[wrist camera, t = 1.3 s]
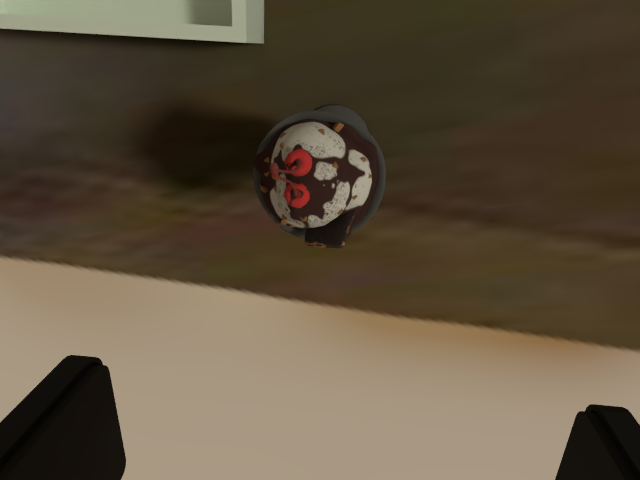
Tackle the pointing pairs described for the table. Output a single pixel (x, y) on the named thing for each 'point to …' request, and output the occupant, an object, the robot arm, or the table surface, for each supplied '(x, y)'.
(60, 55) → the table surface
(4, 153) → the table surface
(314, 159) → the sundae
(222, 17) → the box
